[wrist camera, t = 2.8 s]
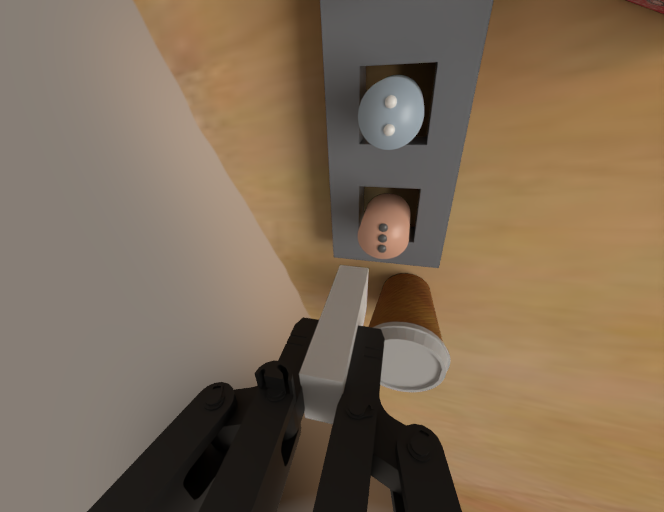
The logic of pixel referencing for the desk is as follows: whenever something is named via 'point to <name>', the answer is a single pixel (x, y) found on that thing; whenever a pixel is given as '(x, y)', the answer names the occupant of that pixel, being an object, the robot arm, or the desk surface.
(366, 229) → the pink rounded piece
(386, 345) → the disposable coffee cup
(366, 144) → the button panel
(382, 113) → the slate button
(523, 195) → the desk surface
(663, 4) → the ink box
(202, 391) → the robot arm
